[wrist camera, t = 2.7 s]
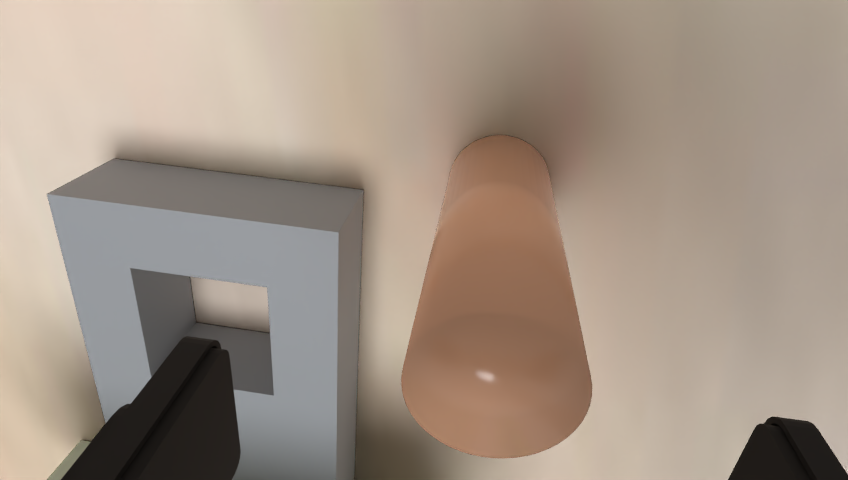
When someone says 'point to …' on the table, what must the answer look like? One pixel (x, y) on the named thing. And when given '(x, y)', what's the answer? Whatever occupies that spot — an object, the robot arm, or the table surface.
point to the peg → (497, 312)
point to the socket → (232, 262)
